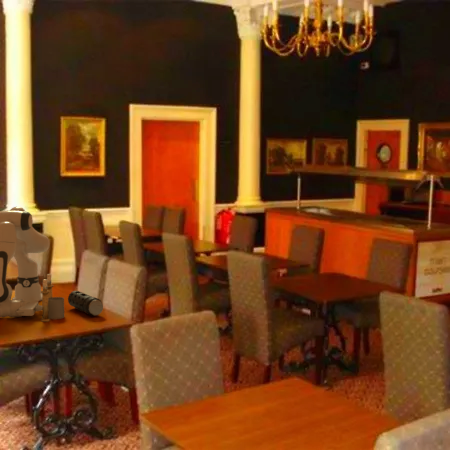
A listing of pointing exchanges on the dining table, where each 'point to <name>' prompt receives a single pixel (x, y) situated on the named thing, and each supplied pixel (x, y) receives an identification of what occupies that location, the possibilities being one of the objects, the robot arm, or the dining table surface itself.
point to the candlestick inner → (49, 285)
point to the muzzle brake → (85, 303)
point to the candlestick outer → (45, 302)
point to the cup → (56, 307)
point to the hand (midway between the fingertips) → (44, 307)
